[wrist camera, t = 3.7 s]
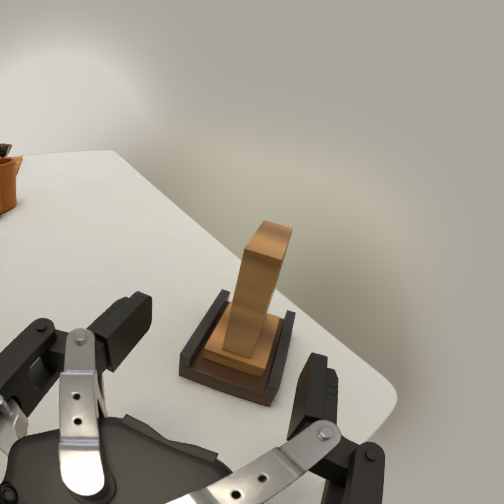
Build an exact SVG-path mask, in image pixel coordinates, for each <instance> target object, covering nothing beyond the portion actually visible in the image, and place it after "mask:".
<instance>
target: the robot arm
mask: <svg viewBox="0 0 504 504" xmlns="http://www.w3.org/2000/svg"><path fill="white" fill-rule="evenodd" d="M151 322H152V297H151V296H149V295H146V294H144V293H141V292H139V291H137V292H135V293H134V294H133V295H132V296H131V297H130V298H128V297H124V298H121V299H119V300H117V301H116V302H114V303H113V304H112V305H111V306H110V308H108V309H107V310H106V311H105V312H104V313H103V314H101V315H100V316H99V317H98V318H97V319H96V320H95V321H94V322H93V323H92V324H91V325H90V326H89V327H88V328H86V329H83V328H79V329H75V330H73V331H71V332H70V333H68V332H64V331H60V330H56V329H55V327H54V324H53V322H52V321H51V320H49V319H46V318H40V319H37V320H35V321H33V322H32V323H31V324H30V325H29V326H28V327H27V328H26V329H25V330H24V331H22V332H21V333H20V334H19V335H18V336H17V337H16V338H15V339H14V340H13V341H12V342H11V343H10V344H9V345H8V346H7V347H6V348H5V349H4V350H3V351H2V352H1V353H0V450H2V451H3V452H4V453H5V454H6V455H7V456H8V463H7V470H6V474H5V477H4V480H3V481H2V483H1V484H0V504H263V503H265V502H266V501H268V500H269V499H271V498H272V497H273V496H275V495H276V494H278V493H279V492H280V491H282V490H283V489H285V488H286V487H287V486H289V485H290V484H291V483H293V482H294V481H295V480H297V479H298V478H299V477H301V476H302V475H303V474H304V473H306V472H307V471H310V472H312V473H314V474H316V475H318V476H320V477H323V478H325V479H326V482H325V486H324V491H323V496H322V500H321V504H382V495H383V484H384V468H385V454H384V451H383V449H382V448H381V447H380V446H379V445H378V444H376V443H373V442H365V443H362V444H361V445H358V444H356V443H354V442H352V441H350V440H348V439H346V438H345V437H343V436H342V435H341V432H340V429H339V428H338V427H337V403H338V397H337V396H338V377H337V375H336V372H335V370H334V369H330V368H327V360H328V358H327V356H324V355H320V354H316V353H313V352H312V353H311V354H310V356H309V358H308V360H307V362H306V364H305V366H304V368H303V370H302V372H301V374H300V376H299V379H298V382H297V387H296V393H295V398H294V404H293V409H292V415H291V420H290V425H289V430H288V435H287V439H286V440H287V441H288V442H287V443H285V444H284V445H282V446H281V447H276V448H274V449H272V450H270V451H269V452H267V453H266V454H264V455H263V456H261V457H259V458H258V459H256V460H255V461H253V462H251V463H250V464H248V465H246V466H244V467H243V468H241V469H239V470H238V471H236V472H234V473H233V472H232V471H231V470H230V469H229V468H228V467H227V466H226V465H225V464H224V463H222V462H221V461H219V460H218V459H216V458H217V456H218V453H216V452H213V451H210V450H207V449H204V448H201V447H199V446H196V445H192V444H186V443H180V442H175V441H170V440H167V439H165V438H164V437H163V436H161V435H160V434H159V433H158V432H156V431H155V430H154V429H152V428H151V427H150V426H149V425H147V424H145V423H143V422H141V421H139V420H137V419H135V418H133V417H131V416H130V415H128V414H126V415H125V416H124V418H123V419H122V418H117V417H108V414H107V410H106V403H105V394H104V382H103V372H104V371H105V370H106V369H107V370H109V371H111V372H113V373H114V371H115V370H116V369H117V368H118V366H119V365H120V364H121V363H122V361H123V360H124V359H125V358H126V357H127V355H128V354H129V353H130V352H131V350H132V349H133V348H134V347H135V346H136V344H137V343H138V342H139V341H140V340H141V338H142V337H143V336H144V335H145V334H146V332H147V331H148V330H149V328H150V325H151ZM39 357H40V358H39ZM38 358H39V359H38ZM37 359H38V360H37ZM36 360H37V361H36ZM35 361H36V362H35ZM34 362H35V363H34ZM33 364H34V365H33ZM32 365H33V366H32ZM31 366H32V367H31ZM30 367H31V368H30ZM59 377H60V384H59V424H60V429H56V430H52V431H47V432H43V433H38V434H33V435H28V436H25V435H26V434H27V428H28V419H27V418H28V417H29V415H30V414H31V413H32V411H33V410H34V409H35V407H36V406H37V405H38V403H39V402H40V401H41V400H42V398H43V397H44V396H45V394H46V393H47V392H48V391H49V389H50V388H51V387H52V386H53V384H54V383H55V382H56V381H57V379H58V378H59Z"/></svg>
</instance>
